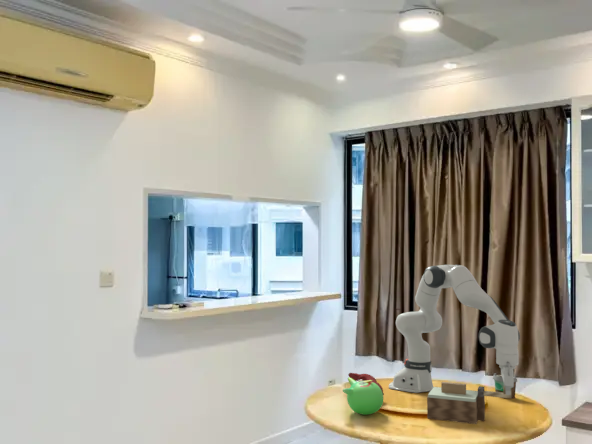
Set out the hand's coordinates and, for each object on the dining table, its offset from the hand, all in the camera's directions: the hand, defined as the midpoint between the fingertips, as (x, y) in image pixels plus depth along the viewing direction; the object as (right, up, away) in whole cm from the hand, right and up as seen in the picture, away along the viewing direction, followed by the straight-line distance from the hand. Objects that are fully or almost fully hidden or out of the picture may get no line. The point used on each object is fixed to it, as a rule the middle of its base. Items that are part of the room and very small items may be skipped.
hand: (507, 393), depth 249 cm
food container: (+12, -13, +40) cm, 44 cm away
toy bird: (-58, -13, +13) cm, 61 cm away
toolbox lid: (-20, -4, +8) cm, 22 cm away
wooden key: (-5, -2, +2) cm, 5 cm away
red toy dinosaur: (-52, -14, +43) cm, 69 cm away
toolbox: (-19, -12, +8) cm, 24 cm away
